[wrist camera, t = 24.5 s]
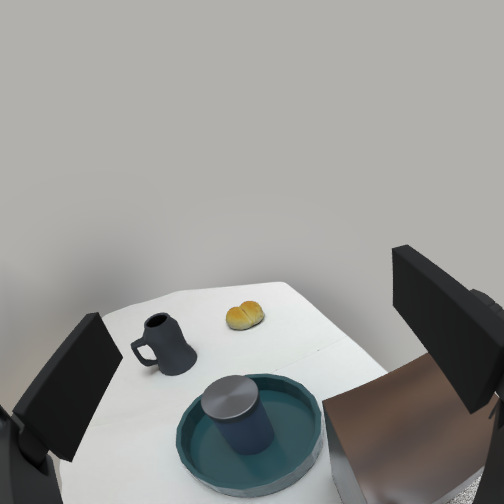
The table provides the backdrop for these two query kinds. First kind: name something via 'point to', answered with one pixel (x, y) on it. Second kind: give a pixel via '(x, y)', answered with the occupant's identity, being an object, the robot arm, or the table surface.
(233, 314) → the bread roll
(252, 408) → the tin
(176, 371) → the mug
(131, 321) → the table surface
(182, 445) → the round teal tray
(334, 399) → the brown wooden block
